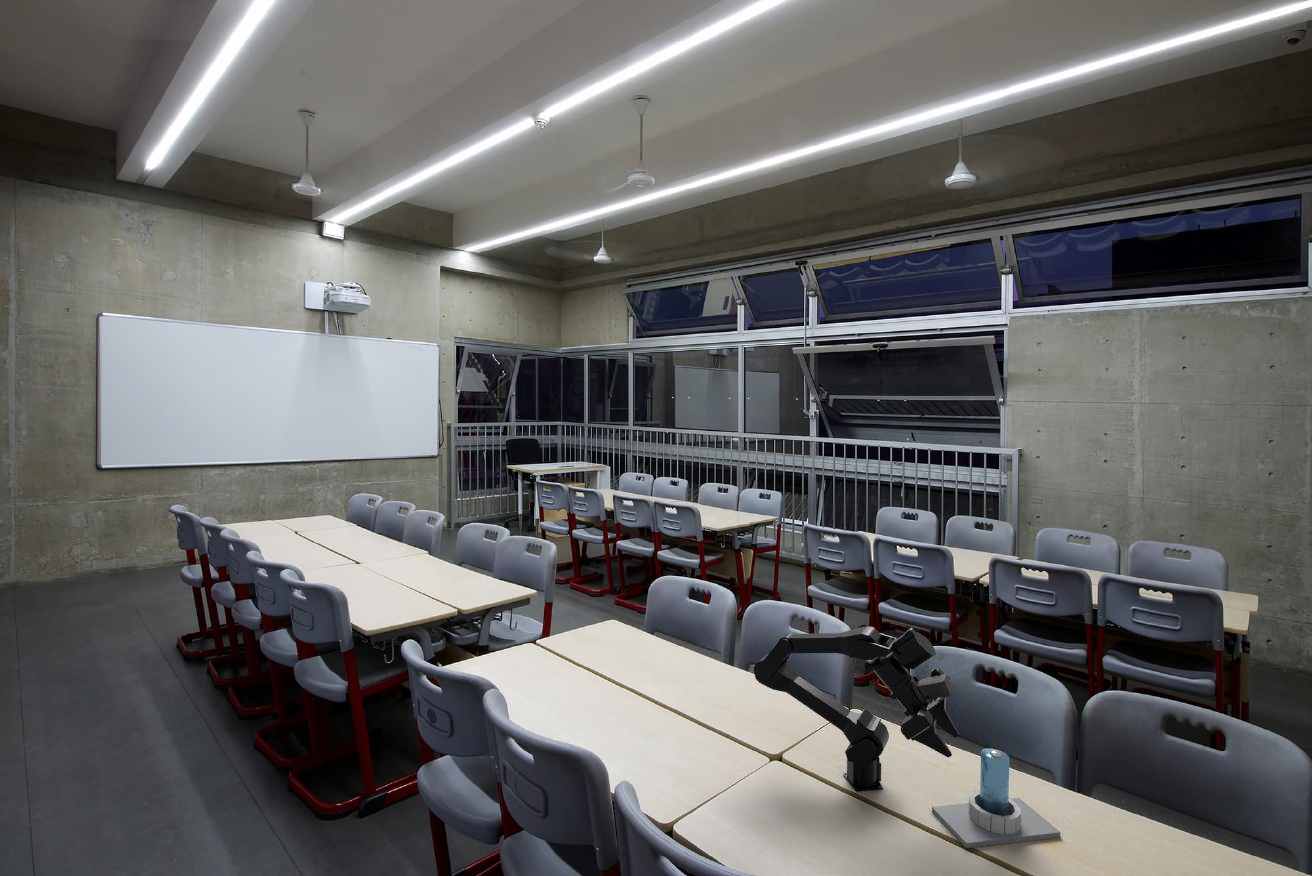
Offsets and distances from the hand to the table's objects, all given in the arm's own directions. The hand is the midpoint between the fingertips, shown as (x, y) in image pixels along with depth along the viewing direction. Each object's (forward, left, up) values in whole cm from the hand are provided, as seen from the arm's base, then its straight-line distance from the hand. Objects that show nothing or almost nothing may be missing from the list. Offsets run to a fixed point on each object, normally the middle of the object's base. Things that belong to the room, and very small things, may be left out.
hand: (953, 746), depth 128 cm
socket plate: (+5, -5, -14) cm, 15 cm away
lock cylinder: (+5, -5, -13) cm, 15 cm away
